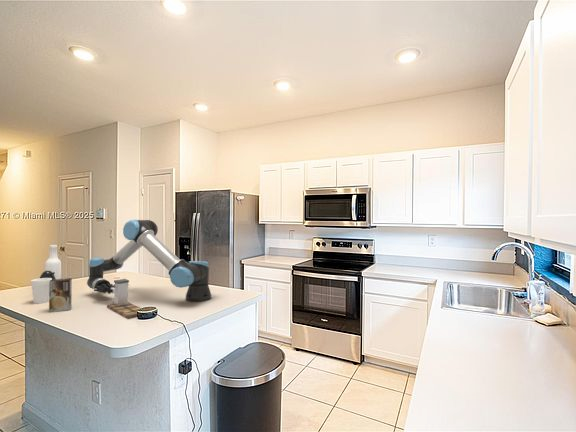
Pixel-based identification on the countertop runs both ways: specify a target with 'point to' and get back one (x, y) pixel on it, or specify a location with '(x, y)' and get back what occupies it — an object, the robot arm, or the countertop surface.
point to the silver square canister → (121, 292)
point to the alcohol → (53, 262)
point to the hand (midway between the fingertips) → (116, 291)
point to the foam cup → (40, 290)
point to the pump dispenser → (48, 275)
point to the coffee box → (60, 294)
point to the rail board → (125, 310)
